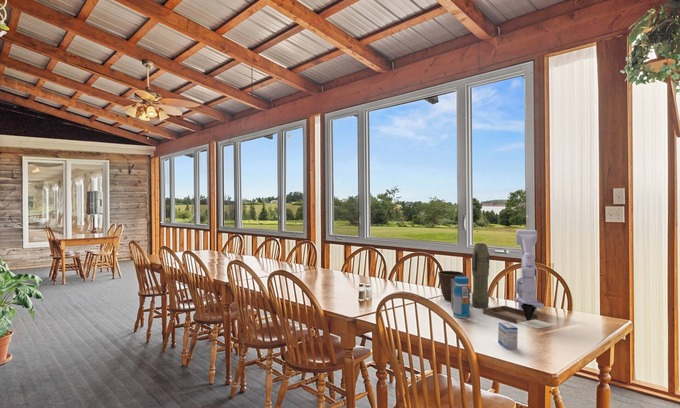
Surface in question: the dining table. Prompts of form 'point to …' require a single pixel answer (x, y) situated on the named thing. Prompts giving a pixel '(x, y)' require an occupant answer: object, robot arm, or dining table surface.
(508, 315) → the case
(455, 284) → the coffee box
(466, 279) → the beverage bottle
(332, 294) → the dining table surface
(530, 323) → the cover plate
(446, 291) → the plant pot
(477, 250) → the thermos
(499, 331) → the medicine box
